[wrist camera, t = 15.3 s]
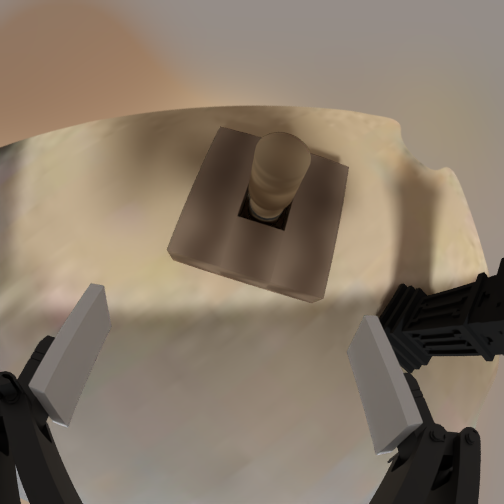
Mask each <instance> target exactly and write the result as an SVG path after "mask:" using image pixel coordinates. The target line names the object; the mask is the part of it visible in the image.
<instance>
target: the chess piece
mask: <svg viewBox="0 0 504 504" xmlns="http://www.w3.org/2000/svg"><path fill="white" fill-rule="evenodd" d="M379 321H380V323H381V325H382V327H383V330H384V332H385V334H386V336H387V338H388V340H389V342H390V345H391V347H392V349H393V351H394V353H395V356H396V358H397V360H398V362H399V365H400V366H401V367H402V368H404V369H405V370H406V371H407V372H408V373H412V372H413V370H414V369H420V367H421V365H427V364H428V362H429V361H430V359H431V357H432V356H479V355H482V357H483V358H484V359H485V360H486V361H493V359H494V356H495V355H501V354H503V355H504V258H502V259H501V262H500V266H499V269H498V273H497V275H494V276H491V277H487V275H486V274H485V273H484V272H483V273H480V274H478V276H477V279H476V282H473V283H470V284H467V285H463V286H460V287H457V288H453V289H450V290H447V291H443V292H440V293H436V294H432V295H429V296H427V295H426V294H425V293H424V292H423V291H422V290H421V289H420V288H418V289H415V288H414V287H413V286H409V287H407V286H406V285H405V284H401V285H400V286H399V288H398V290H397V291H396V293H395V295H394V296H393V298H392V299H391V301H390V303H389V304H388V306H387V307H386V309H385V310H384V312H383V313H382V315H381V317H380V318H379Z"/></svg>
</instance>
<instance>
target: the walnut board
mask: <svg viewBox="0 0 504 504" xmlns="http://www.w3.org/2000/svg"><path fill="white" fill-rule="evenodd" d="M260 139H261V137H257V136H254V135H250V134H247V133H243V132H239V131H235V130H232V129H228V128H224V127H220V128H219V130H218V132H217V134H216V136H215V138H214V140H213V142H212V145H211V147H210V149H209V151H208V153H207V155H206V157H205V160H204V162H203V164H202V166H201V168H200V171H199V173H198V175H197V177H196V180H195V182H194V184H193V187H192V189H191V191H190V193H189V196H188V198H187V201H186V203H185V205H184V208H183V210H182V213H181V215H180V217H179V220H178V222H177V225H176V227H175V230H174V232H173V235H172V237H171V240H170V243H169V245H168V248H167V251H168V253H169V254H170V256H171V257H172V259H173V260H175V261H178V262H181V263H184V264H187V265H190V266H193V267H196V268H199V269H202V270H205V271H208V272H211V273H215V274H218V275H221V276H224V277H227V278H230V279H233V280H237V281H240V282H243V283H246V284H249V285H253V286H256V287H259V288H263V289H266V290H269V291H272V292H276V293H279V294H282V295H286V296H289V297H292V298H296V299H299V300H303V301H306V302H310V303H313V302H316V301H318V300H321V299H323V298H324V294H325V289H326V285H327V281H328V276H329V272H330V267H331V263H332V258H333V253H334V248H335V243H336V238H337V233H338V228H339V223H340V218H341V212H342V206H343V201H344V195H345V189H346V182H347V176H348V169H349V167H347V166H345V165H342V164H339V163H337V162H334V161H331V160H328V159H326V158H323V157H320V156H317V155H314V154H311V153H310V155H311V162H310V166H309V168H308V170H307V172H306V174H305V176H304V178H303V180H302V182H301V184H300V186H299V188H298V190H297V192H296V194H295V196H294V198H293V200H292V202H291V203H290V204H289V205H288V208H287V211H286V215H285V219H284V222H283V226H282V229H281V230H280V229H277V228H274V227H271V226H268V225H264V224H261V223H258V222H255V221H252V220H248V219H245V218H242V217H240V215H241V212H242V209H243V206H244V203H245V200H246V198H247V195H248V193H249V189H248V187H249V181H250V175H251V170H252V164H253V159H254V153H255V148H256V145H257V143H258V142H259V140H260Z"/></svg>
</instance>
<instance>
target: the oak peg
mask: <svg viewBox="0 0 504 504" xmlns="http://www.w3.org/2000/svg"><path fill="white" fill-rule="evenodd" d="M310 162H311V155H310V151H309V149H308V147H307V146H306V145H305V143H304V142H303V141H301V140H300V139H299V138H297V137H295V136H293V135H291V134H288V133H282V132H276V133H271V134H268V135H266V136H264V137H263V138H261V139H260V140H259V142H258V143H257V145H256V148H255V153H254V159H253V164H252V170H251V175H250V181H249V187H248V189H249V195H250V200H249V208H248V213H249V216H250V219H251V220H252V221H255V222H258V223H261V224H264V225H268V226H271V225H273V224H274V223H276V222H277V221H278V220H279V218H280V216H281V214H282V212H283V210H284V208H285V207H287V206H288V205H289V204H290V203H291V202H292V200H293V198H294V196H295V194H296V192H297V190H298V188H299V186H300V184H301V182H302V180H303V178H304V176H305V174H306V172H307V170H308V168H309V166H310Z"/></svg>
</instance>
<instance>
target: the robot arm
mask: <svg viewBox="0 0 504 504" xmlns="http://www.w3.org/2000/svg"><path fill="white" fill-rule="evenodd" d="M111 327H112V326H111V321H110V316H109V311H108V306H107V300H106V295H105V289H104V286H103V285H97V284H92V283H91V284H90V285H89V287H88V288H87V290H86V291H85V293H84V294H83V296H82V297H81V299H80V300H79V301H78V303H77V304H76V306H75V307H74V309H73V311H72V312H71V314H70V315H69V317H68V318H67V320H66V321H65V323H64V325H63V326H62V328H61V329H60V331H59V333H58V334H57V336H56V338H55V337H51V336H46V337H45V338H44V339H43V340H41V341H40V342H39V344H38V345H37V347H36V349H35V350H34V351H35V352H33V354H32V355H31V358H30V359H29V360H28V362H27V364H26V365H25V367H24V369H23V371H22V372H21V374H20V376H19V378H18V380H17V379H16V377H15V376H14V375H13V374H12V373H11V372H7V371H4V372H0V504H21V502H20V496H19V490H18V484H17V476H16V468H17V471H18V474H19V477H20V480H21V482H22V485H23V488H24V490H25V493H26V495H27V498H28V500H29V503H30V504H83V503H82V501H81V499H80V497H79V496H78V494H77V492H76V490H75V488H74V486H73V484H72V482H71V480H70V477H69V475H68V473H67V471H66V469H65V466H64V464H63V462H62V460H61V457H60V455H59V452H58V450H57V447H56V445H55V442H54V440H53V437H52V434H51V431H50V428H49V426H48V424H47V422H46V421H47V418H48V416H49V417H50V418H51V419H52V421H53V422H55V423H57V424H60V425H62V426H65V427H68V426H69V423H70V421H71V418H72V415H73V413H74V410H75V408H76V405H77V403H78V400H79V398H80V395H81V393H82V391H83V388H84V386H85V383H86V381H87V379H88V376H89V374H90V372H91V370H92V367H93V365H94V363H95V361H96V358H97V356H98V354H99V352H100V350H101V347H102V345H103V343H104V341H105V339H106V337H107V335H108V333H109V331H110V329H111ZM347 354H348V357H349V360H350V363H351V367H352V370H353V373H354V376H355V380H356V383H357V386H358V390H359V393H360V397H361V400H362V404H363V407H364V411H365V414H366V418H367V422H368V425H369V429H370V433H371V437H372V441H373V444H374V448H375V452H376V455H379V454H385V453H390V452H391V451H393V450H394V449H395V448H396V447H397V448H398V453H397V454H395V455H394V456H393V457H392V458H390V459H389V461H388V463H390V462H391V461H392V460H393V461H392V463H391V465H390V467H389V469H388V471H387V473H386V475H385V477H384V479H383V480H382V482H381V484H380V486H379V488H378V489H377V491H376V493H375V495H374V496H373V498H372V500H371V501H370V503H369V504H478V497H479V485H480V462H481V456H480V455H481V451H480V449H481V448H480V447H481V446H480V445H481V444H480V436H479V434H478V432H477V431H476V430H475V429H474V428H472V427H466V428H464V429H463V430H462V431H461V432H460V433H456V432H447V431H446V430H445V429H444V427H442V426H441V425H439V424H436V423H434V421H433V418H432V416H431V413H430V411H429V409H428V406H427V404H426V401H425V399H424V398H423V394H422V392H421V391H420V387H419V385H418V383H417V380H416V379H415V378H414V377H413V376H412V375H411V374H410V373H403V372H402V369H401V367H400V365H399V362H398V360H397V358H396V356H395V353H394V351H393V349H392V347H391V345H390V342H389V340H388V338H387V336H386V334H385V332H384V330H383V327H382V325H381V323H380V321H379V319H378V317H377V316H370V315H364V317H363V319H362V321H361V324H360V326H359V328H358V330H357V332H356V334H355V336H354V338H353V340H352V342H351V344H350V346H349V348H348V350H347ZM15 465H16V468H15Z"/></svg>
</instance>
